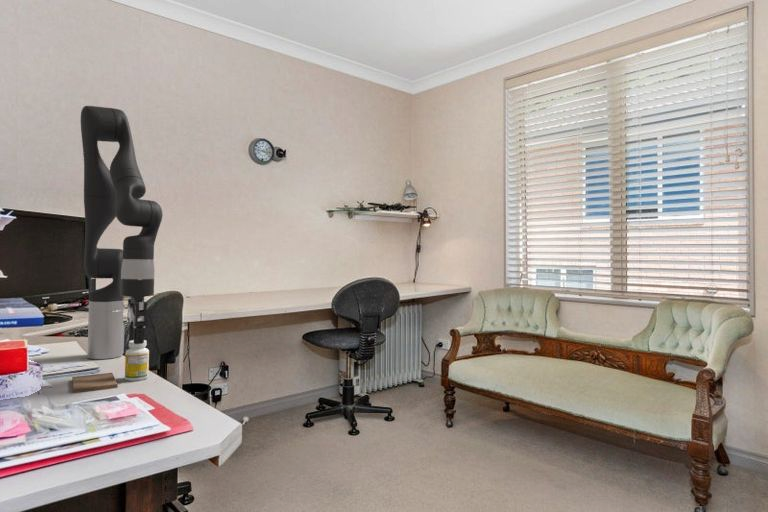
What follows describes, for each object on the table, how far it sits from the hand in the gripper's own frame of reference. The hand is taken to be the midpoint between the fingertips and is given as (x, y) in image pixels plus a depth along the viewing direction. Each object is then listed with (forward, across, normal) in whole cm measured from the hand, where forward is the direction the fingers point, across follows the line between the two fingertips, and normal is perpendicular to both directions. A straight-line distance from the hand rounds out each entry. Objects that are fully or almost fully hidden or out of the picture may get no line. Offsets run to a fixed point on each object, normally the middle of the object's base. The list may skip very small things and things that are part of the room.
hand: (136, 341), depth 118 cm
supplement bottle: (+10, 0, 0) cm, 10 cm away
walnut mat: (+10, 0, -9) cm, 13 cm away
